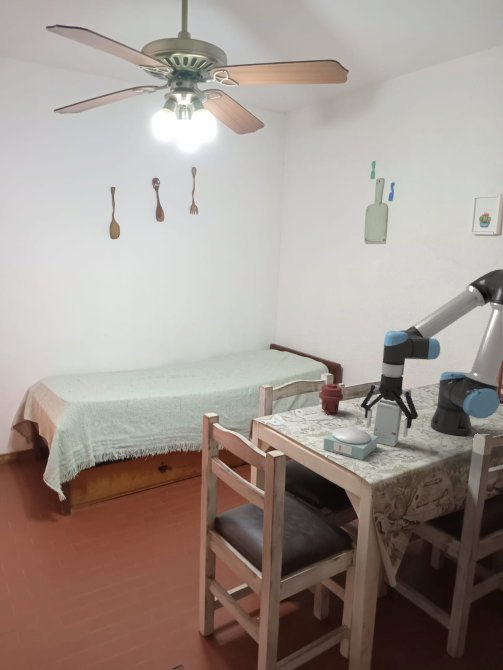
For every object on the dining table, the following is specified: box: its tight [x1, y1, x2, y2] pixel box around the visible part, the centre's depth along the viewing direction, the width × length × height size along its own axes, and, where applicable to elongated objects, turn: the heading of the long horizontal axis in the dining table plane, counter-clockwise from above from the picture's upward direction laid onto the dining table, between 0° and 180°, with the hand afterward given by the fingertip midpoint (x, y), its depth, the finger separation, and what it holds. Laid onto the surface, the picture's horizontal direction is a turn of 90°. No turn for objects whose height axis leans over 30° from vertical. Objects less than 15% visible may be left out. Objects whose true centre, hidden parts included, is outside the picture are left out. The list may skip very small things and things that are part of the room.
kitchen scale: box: [323, 427, 378, 461], centre depth 170 cm, size 14×15×5 cm
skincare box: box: [372, 399, 403, 447], centre depth 177 cm, size 8×6×15 cm
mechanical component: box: [318, 383, 344, 416], centre depth 208 cm, size 12×10×10 cm
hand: (386, 431), depth 178 cm, fingers open, 13 cm apart
